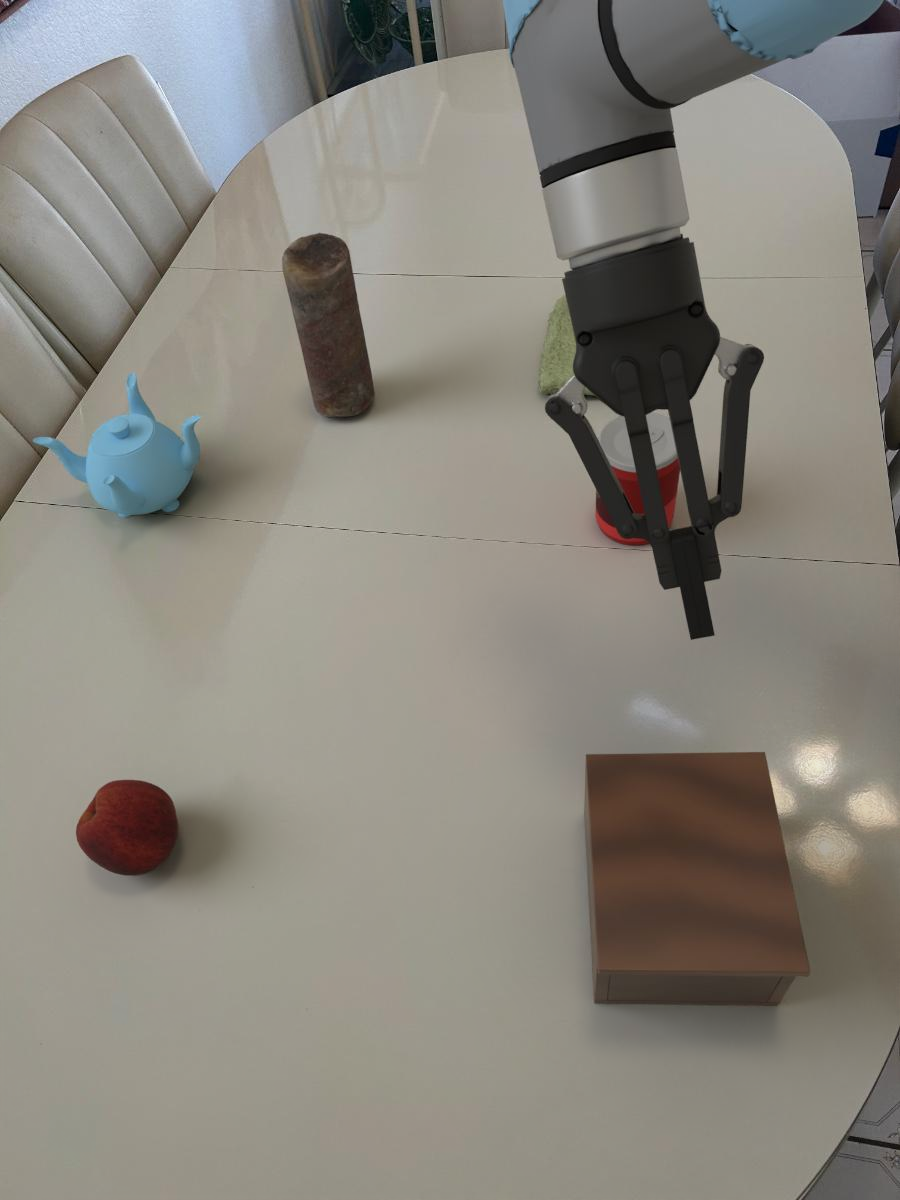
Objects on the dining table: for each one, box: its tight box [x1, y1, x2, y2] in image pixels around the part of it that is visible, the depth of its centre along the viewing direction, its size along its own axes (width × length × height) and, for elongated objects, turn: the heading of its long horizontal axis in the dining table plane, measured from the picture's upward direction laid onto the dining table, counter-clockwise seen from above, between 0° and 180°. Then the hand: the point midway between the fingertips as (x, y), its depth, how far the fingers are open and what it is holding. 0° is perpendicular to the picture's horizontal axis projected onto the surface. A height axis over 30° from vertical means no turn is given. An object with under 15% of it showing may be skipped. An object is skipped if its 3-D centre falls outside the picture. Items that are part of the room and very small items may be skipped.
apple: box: [75, 779, 179, 877], centre depth 75 cm, size 7×8×8 cm
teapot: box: [32, 372, 202, 518], centre depth 101 cm, size 13×13×10 cm
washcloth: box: [537, 294, 596, 397], centre depth 111 cm, size 13×18×3 cm
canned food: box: [595, 412, 681, 546], centre depth 91 cm, size 8×8×11 cm
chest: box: [583, 765, 796, 1007], centre depth 67 cm, size 15×13×9 cm
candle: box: [281, 232, 376, 418], centre depth 103 cm, size 8×7×20 cm
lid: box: [585, 751, 811, 978], centre depth 63 cm, size 16×13×1 cm
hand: (700, 629), depth 60 cm, fingers closed
